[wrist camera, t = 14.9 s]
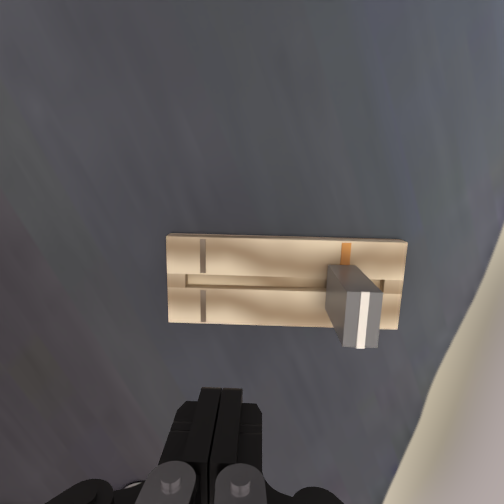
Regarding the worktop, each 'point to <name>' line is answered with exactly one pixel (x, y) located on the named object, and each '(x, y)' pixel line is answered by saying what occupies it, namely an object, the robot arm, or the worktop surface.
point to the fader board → (273, 277)
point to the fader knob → (353, 306)
